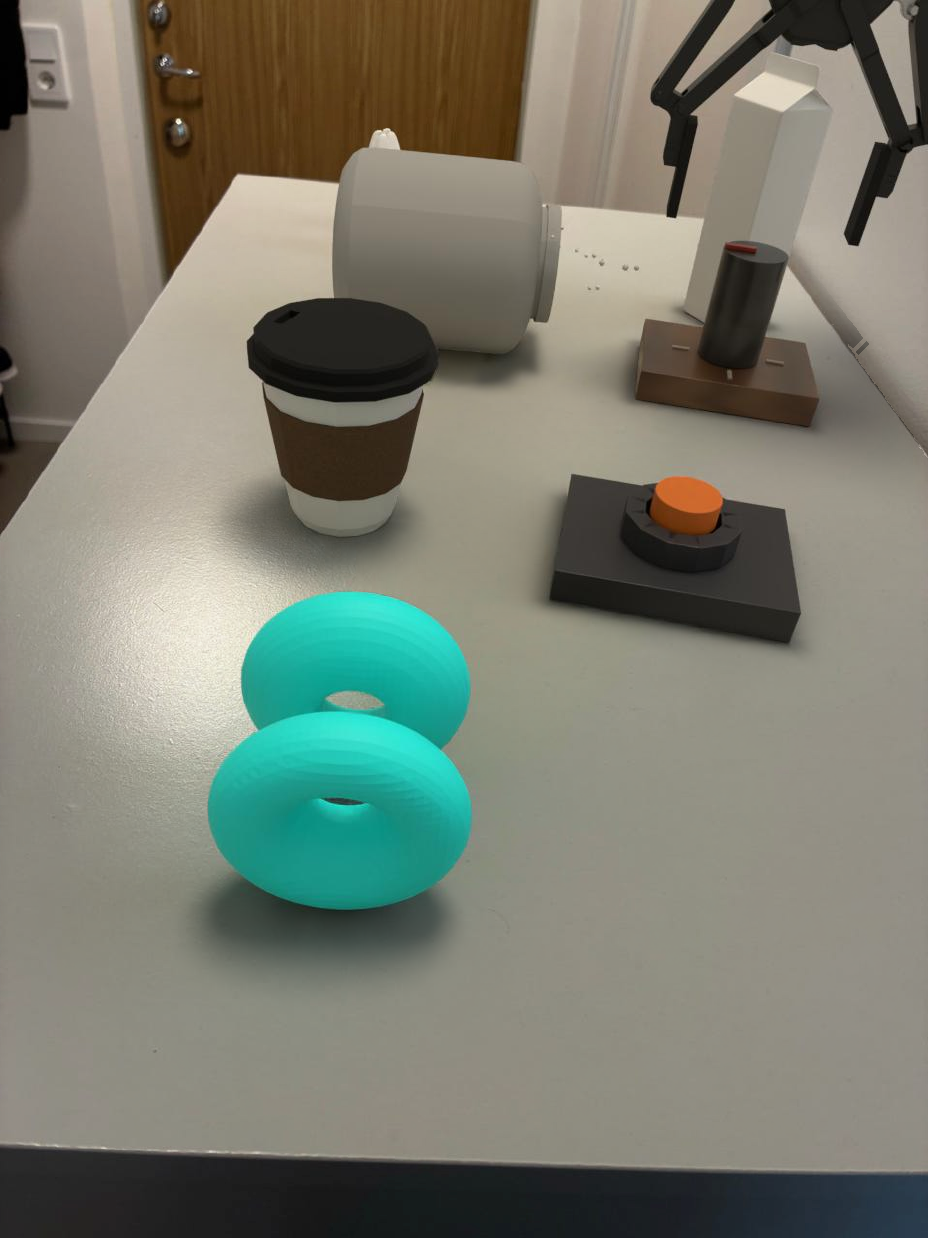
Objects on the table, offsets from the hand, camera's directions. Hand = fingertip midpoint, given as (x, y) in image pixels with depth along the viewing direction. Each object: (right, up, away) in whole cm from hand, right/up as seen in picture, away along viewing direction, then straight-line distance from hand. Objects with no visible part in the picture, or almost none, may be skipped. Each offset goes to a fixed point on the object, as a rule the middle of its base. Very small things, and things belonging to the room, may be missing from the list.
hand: (760, 226), depth 72 cm
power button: (-9, -24, -15) cm, 30 cm away
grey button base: (-10, -26, -13) cm, 31 cm away
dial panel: (-1, -10, +8) cm, 13 cm away
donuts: (-28, -39, -30) cm, 56 cm away
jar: (-21, -5, +12) cm, 25 cm away
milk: (+3, -1, +20) cm, 20 cm away
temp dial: (-1, -8, +7) cm, 10 cm away
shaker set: (-31, +10, +28) cm, 43 cm away
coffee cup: (-30, -23, -11) cm, 40 cm away
